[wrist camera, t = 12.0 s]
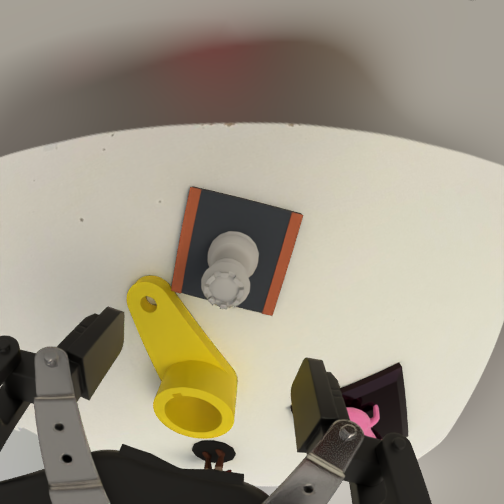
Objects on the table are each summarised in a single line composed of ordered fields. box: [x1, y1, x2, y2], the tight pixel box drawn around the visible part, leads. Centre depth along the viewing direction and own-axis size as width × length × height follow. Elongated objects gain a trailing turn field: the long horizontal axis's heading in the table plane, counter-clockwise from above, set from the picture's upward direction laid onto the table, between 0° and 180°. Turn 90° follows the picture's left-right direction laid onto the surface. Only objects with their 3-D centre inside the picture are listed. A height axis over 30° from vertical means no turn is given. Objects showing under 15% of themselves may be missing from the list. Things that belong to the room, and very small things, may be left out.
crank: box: [127, 276, 237, 439], centre depth 27 cm, size 18×8×6 cm, turn 21°
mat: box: [171, 187, 303, 316], centre depth 26 cm, size 10×10×1 cm
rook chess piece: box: [201, 231, 259, 309], centre depth 22 cm, size 4×4×8 cm
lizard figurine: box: [291, 363, 408, 440], centre depth 30 cm, size 15×20×7 cm
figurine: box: [192, 441, 236, 472], centre depth 28 cm, size 7×7×15 cm
